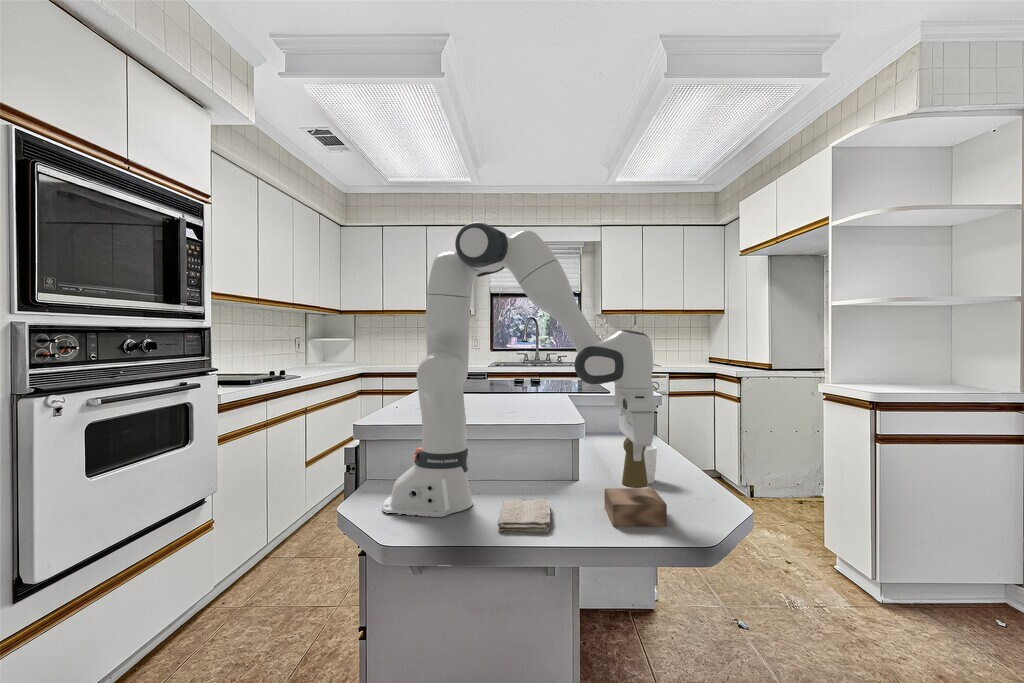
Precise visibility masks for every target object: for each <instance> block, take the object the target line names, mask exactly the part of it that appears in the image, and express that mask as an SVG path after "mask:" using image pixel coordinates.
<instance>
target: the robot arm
mask: <svg viewBox="0 0 1024 683" xmlns="http://www.w3.org/2000/svg"><path fill="white" fill-rule="evenodd" d="M454 245H455V246H454V247H455V251H445V252H442V253H440V254H438V255H437V256H436V257H435V258H434V259H433V262H432V265H431V270H430V274H429V280H428V284H427V285H428V287H427V293H426V306H425V307H426V309H425V321H424V322H425V323H424V324H425V325H424V327H425V338H426V340H425V341H426V357H423V359H422V360H421V361H420V363H419V365H418V367H417V371H416V382H417V388H418V389H417V392H418V399H419V400H418V401H419V407H420V413H421V430H422V431H421V432H422V434H421V437H422V438H421V439H422V442H421V444H422V447H421V446H420V447H417V449H415V452H414V454H413V455H414V456H413V460H414V465H412V466H411V467H410V468H409V469H407V470H405V471H404V473H403V474H402V475H400V476H399V477H398V478H397V479H396V480H395V482H394V484H393V488H392V492H391V495H390V496H388V497H387V498H386V499H385V500H384V501H383V504H382V508H383V510H384V511H385V512H389V513H398V514H397V515H401V514H406V516H415V515H418V517H429V516H430V517H433V518H443V517H446V516H448V515H450V514H455V513H459V512H462V511H465V510H468V509H469V508H470V507H472V506H473V505H474V500H473V498H472V494H471V489H470V483H469V477H468V470H469V465H470V464H469V463H470V462H469V449H468V448H467V416H466V407H465V399H464V398H465V396H464V384H465V383H466V381H467V378H468V374H469V356H470V354H469V352H470V351H469V350H470V320H471V319H470V318H471V306H472V305H471V304H472V294H473V293H472V291H473V290H472V289H473V283H474V280H475V279H476V277H478V278H479V277H483V276H487V275H492V274H496V273H499V272H501V271H502V270H504V269H505V268H506V269H507V270H509V272H510V273H511V274H512V276H513V277H514V278H515V280H516V281H517V283H518V285H519V287H520V288H521V290H522V291H523V293H524V294H525V296H527V298H528V299H529V300H530V301H531V302H532V303H533V305H535V307H536V308H538V309H540V310H541V311H542V312H544V313H546V314H548V315H549V316H550V317H551V318H553V319H554V320H555V321H556V322H557V323H558V324H559V325H560V327H561V328H562V330H563V331H564V333H565V334H566V336H567V338H568V339H569V341H570V342H571V344H572V345H573V346H574V348H575V350H576V352H577V355H576V357H575V359H574V371H575V373H576V375H577V377H578V378H579V379H580V380H581V381H583V383H585V384H588V385H592V386H600V385H603V384H608V383H612V382H613V383H614V406H615V407H617V408H619V410H618V427H619V428H618V429H619V431H620V432H621V433H622V434H623V435H624V436H625V439H626V438H628V439H629V440H630V441H631V442H632V443H633V452H632V458H633V460H634V461H641V453H642V450H643V447H647V446H651V445H653V440H654V430H655V428H654V427H655V426H654V425H655V414H654V412H657V401H656V399H655V396H654V395H655V394H654V383H653V379H652V376H653V375H652V374H653V369H654V352H653V344H652V340H651V338H650V337H649V335H647V334H646V333H644V332H640V331H636V330H630V329H619V330H617V331H616V332H615V333H614V334H613V335H611V336H608V337H607V338H605V339H603V340H602V339H600V337H599V336H598V335H597V333H596V332H595V331H594V329H593V328H592V327H591V325H590V323H589V322H588V320H587V319H586V317H585V315H584V314H583V313H582V310H581V309H580V308H579V305H578V302H577V300H576V298H575V294H574V292H573V288H572V287H571V284H570V282H569V278H568V276H567V274H566V272H565V270H564V268H563V267H562V265H561V262H559V260H558V258H557V257H556V255H555V254H554V253H553V251H552V249H550V247H549V246H548V244H547V243H545V241H544V240H543V239H542V238H541V237H540V236H539V234H538V233H536V232H534V231H532V230H528V229H527V230H521V231H518V232H516V233H514V234H513V235H511V236H507V235H506V233H505V232H503V231H501V230H499V229H497V228H496V227H494V226H492V225H490V224H488V223H485V222H478V221H477V222H476V221H475V222H471V223H470V222H469V223H467V224H465V225H464V226H463V227H462V228H461V229H460V230H459V231H458V233H457V235H456V238H455V244H454ZM383 510H382V511H383Z"/></svg>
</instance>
